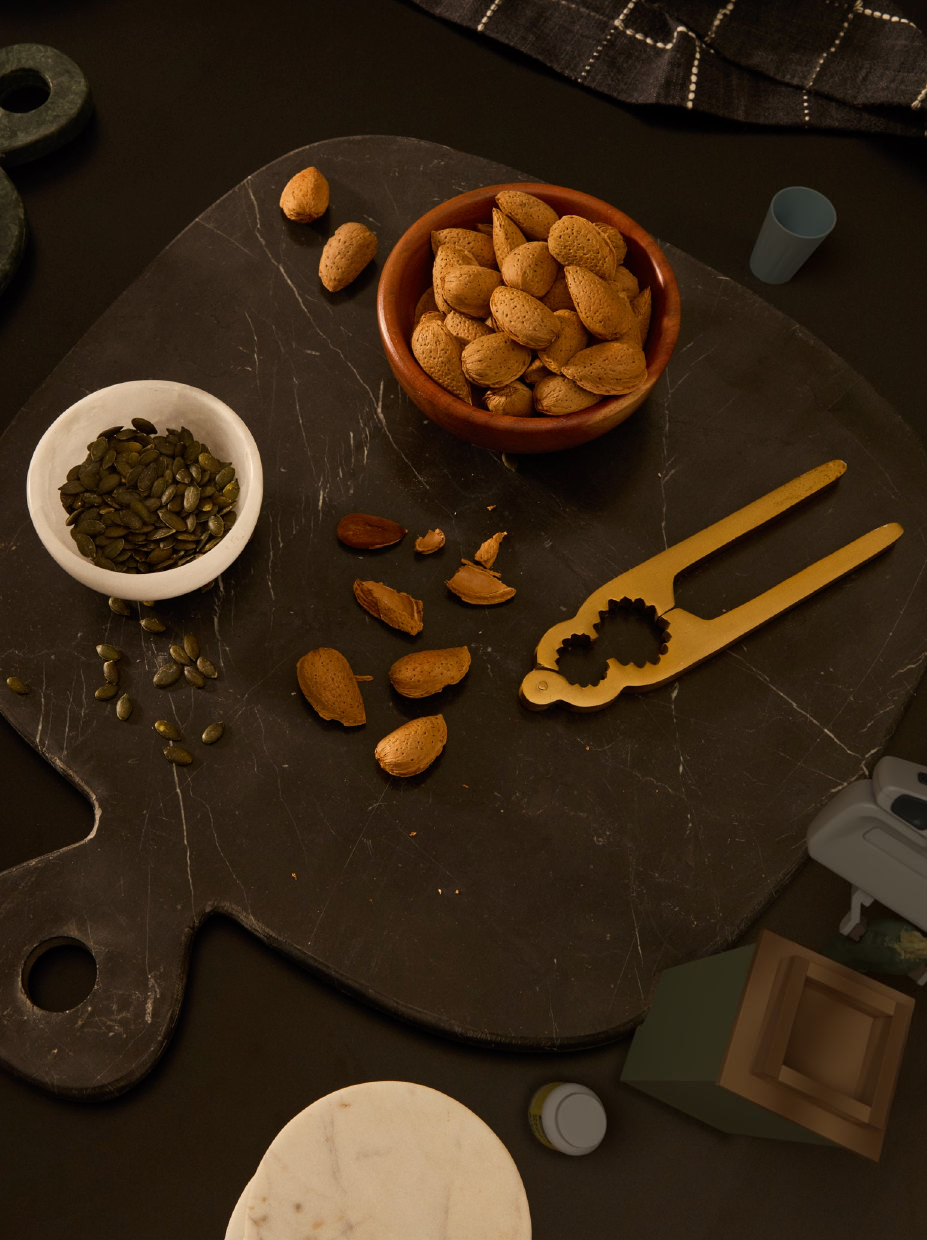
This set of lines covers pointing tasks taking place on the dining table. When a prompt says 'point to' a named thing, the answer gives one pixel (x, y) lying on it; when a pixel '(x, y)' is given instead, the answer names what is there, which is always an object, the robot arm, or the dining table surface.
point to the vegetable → (880, 948)
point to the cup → (791, 233)
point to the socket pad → (817, 1044)
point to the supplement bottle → (567, 1118)
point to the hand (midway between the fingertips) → (878, 955)
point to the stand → (701, 1048)
